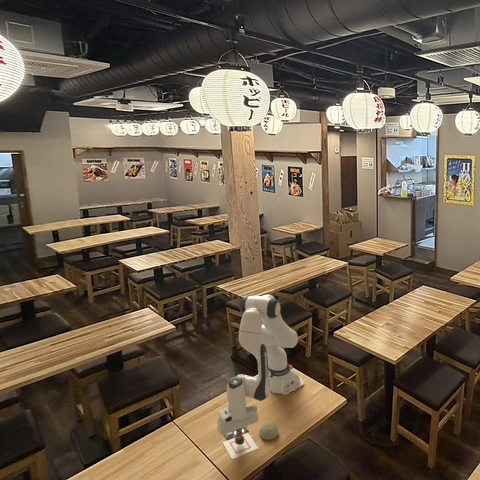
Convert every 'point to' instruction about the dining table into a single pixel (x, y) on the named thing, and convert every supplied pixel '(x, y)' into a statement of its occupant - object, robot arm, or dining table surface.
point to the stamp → (239, 437)
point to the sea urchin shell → (268, 431)
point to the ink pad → (230, 435)
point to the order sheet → (240, 446)
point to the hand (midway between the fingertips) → (239, 434)
